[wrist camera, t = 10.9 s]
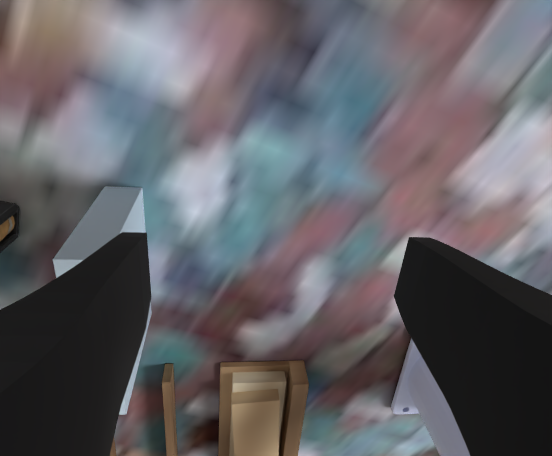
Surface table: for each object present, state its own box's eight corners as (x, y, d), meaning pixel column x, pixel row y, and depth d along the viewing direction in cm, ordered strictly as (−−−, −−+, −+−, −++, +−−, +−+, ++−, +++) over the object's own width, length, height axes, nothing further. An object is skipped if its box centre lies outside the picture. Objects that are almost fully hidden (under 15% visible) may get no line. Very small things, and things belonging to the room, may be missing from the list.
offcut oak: (278, 388, 26) (279, 400, 26) (276, 465, 30) (278, 477, 29) (231, 392, 26) (231, 404, 25) (235, 469, 30) (236, 482, 29)
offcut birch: (284, 371, 27) (286, 381, 26) (273, 466, 31) (274, 477, 31) (232, 372, 27) (232, 383, 26) (228, 468, 31) (228, 480, 30)
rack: (303, 360, 27) (308, 384, 26) (285, 483, 33) (289, 509, 32) (77, 365, 25) (66, 391, 24) (102, 495, 31) (94, 523, 30)
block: (142, 187, 21) (106, 259, 14) (151, 313, 24) (126, 414, 18) (105, 185, 20) (52, 259, 14) (120, 313, 24) (83, 416, 18)
